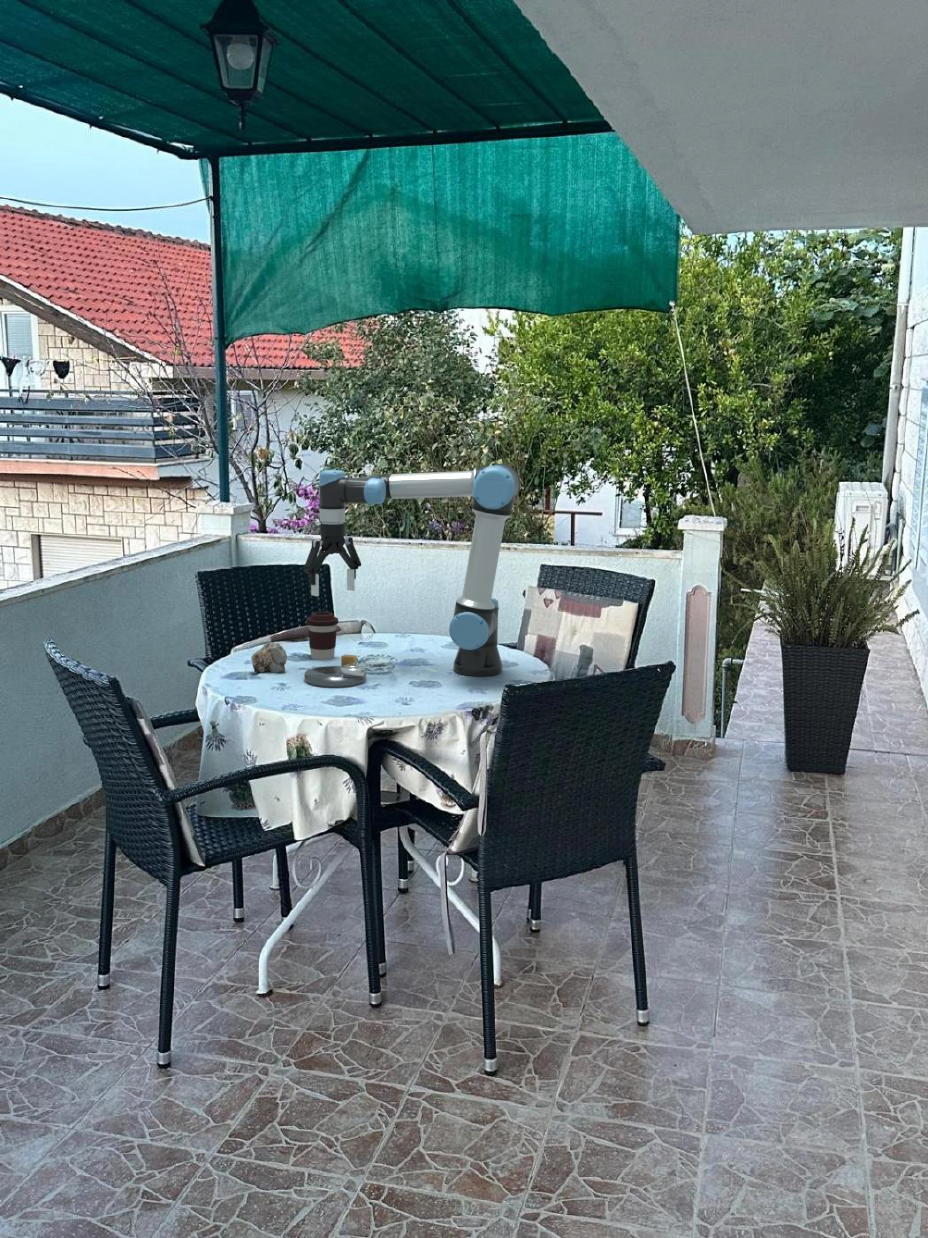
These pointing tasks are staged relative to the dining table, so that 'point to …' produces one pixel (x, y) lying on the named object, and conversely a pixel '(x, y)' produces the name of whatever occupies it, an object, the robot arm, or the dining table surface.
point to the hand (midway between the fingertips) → (333, 593)
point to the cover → (352, 671)
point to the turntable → (333, 675)
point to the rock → (269, 658)
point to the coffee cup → (322, 635)
